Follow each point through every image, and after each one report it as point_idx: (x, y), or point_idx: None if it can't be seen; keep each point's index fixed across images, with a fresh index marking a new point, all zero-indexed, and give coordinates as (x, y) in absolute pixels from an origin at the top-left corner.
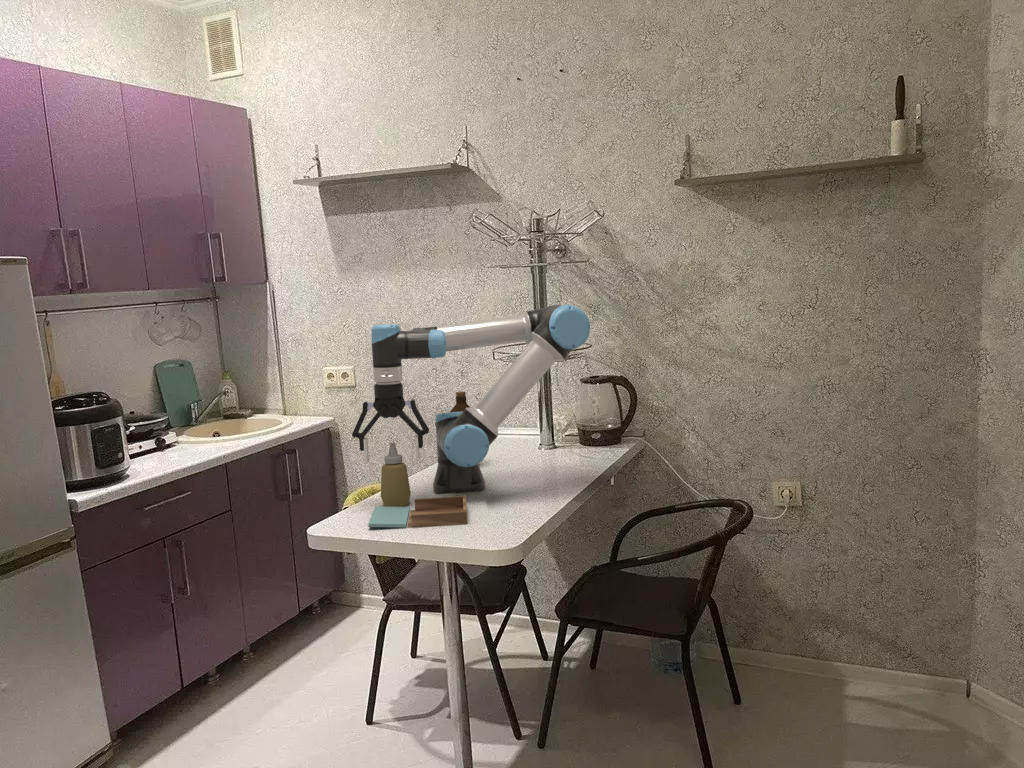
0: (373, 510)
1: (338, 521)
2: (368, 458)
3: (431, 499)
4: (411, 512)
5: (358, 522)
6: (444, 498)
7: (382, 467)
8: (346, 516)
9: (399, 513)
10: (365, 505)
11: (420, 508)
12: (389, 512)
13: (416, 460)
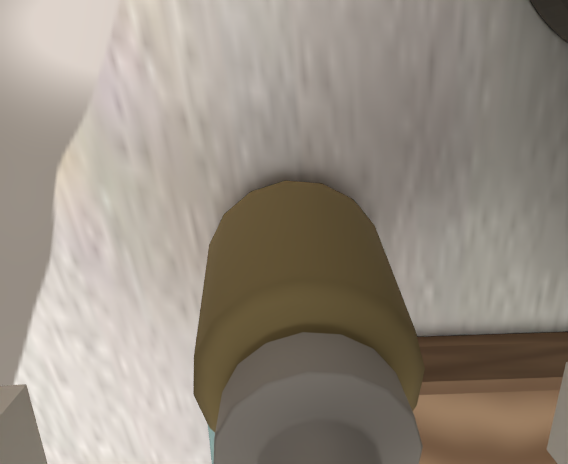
0: (208, 429)
1: (60, 381)
2: (8, 426)
3: (487, 389)
4: None
5: (153, 406)
6: (553, 388)
7: (206, 418)
8: (72, 321)
9: None
10: (112, 149)
11: None
12: None
13: (552, 454)
